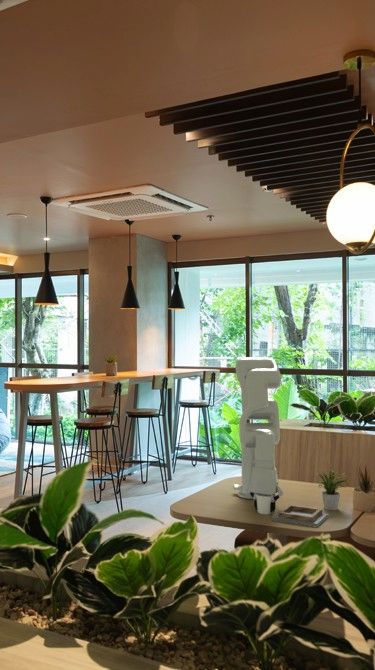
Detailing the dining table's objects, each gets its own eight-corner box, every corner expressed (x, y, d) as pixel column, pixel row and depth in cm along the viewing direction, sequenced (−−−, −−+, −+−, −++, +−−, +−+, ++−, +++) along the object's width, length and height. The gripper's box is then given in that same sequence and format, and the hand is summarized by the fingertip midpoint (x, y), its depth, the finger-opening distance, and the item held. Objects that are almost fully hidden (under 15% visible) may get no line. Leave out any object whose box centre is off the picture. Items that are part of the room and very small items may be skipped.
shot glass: (273, 515, 231) (273, 496, 231) (255, 514, 233) (255, 495, 233) (274, 510, 238) (274, 492, 238) (256, 509, 239) (256, 491, 240)
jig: (272, 520, 224) (272, 512, 224) (285, 511, 237) (285, 503, 237) (317, 527, 216) (317, 518, 216) (328, 517, 229) (328, 509, 229)
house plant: (327, 515, 231) (327, 472, 231) (304, 507, 243) (304, 466, 243) (355, 511, 238) (355, 469, 238) (331, 503, 250) (331, 463, 250)
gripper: (240, 463, 236) (240, 510, 236) (282, 467, 228) (282, 516, 228) (248, 460, 243) (248, 505, 243) (289, 464, 235) (289, 511, 235)
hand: (264, 510), depth 235 cm, fingers closed on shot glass, 5 cm apart
